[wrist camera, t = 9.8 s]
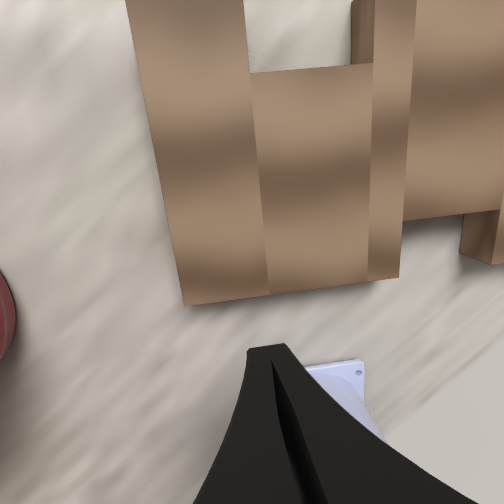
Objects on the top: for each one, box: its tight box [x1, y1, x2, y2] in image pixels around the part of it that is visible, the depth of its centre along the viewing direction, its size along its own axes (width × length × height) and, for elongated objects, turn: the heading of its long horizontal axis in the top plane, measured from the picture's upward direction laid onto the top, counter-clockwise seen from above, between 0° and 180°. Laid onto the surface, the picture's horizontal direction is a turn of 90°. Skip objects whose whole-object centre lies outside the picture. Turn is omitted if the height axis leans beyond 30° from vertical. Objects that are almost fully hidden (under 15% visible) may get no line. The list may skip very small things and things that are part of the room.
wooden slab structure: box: [125, 0, 504, 306], centre depth 16 cm, size 15×26×2 cm, turn 96°
